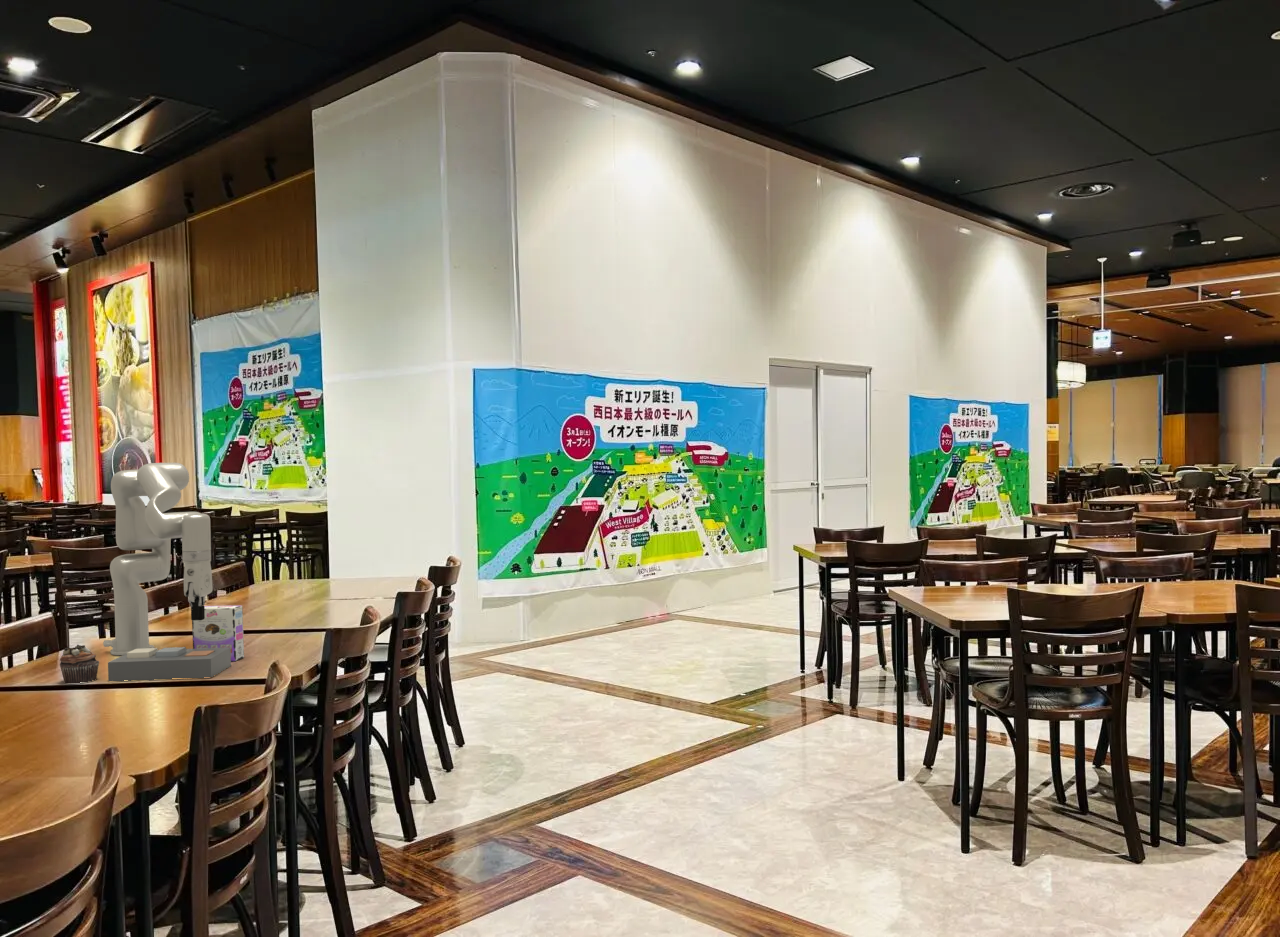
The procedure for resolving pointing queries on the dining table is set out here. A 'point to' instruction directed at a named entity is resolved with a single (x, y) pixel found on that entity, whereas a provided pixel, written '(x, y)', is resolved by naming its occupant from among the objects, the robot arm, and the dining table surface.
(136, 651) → the cream key
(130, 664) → the keypad
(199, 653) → the terracotta key
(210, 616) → the candy box
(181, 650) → the slate key
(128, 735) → the dining table surface
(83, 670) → the cupcake
